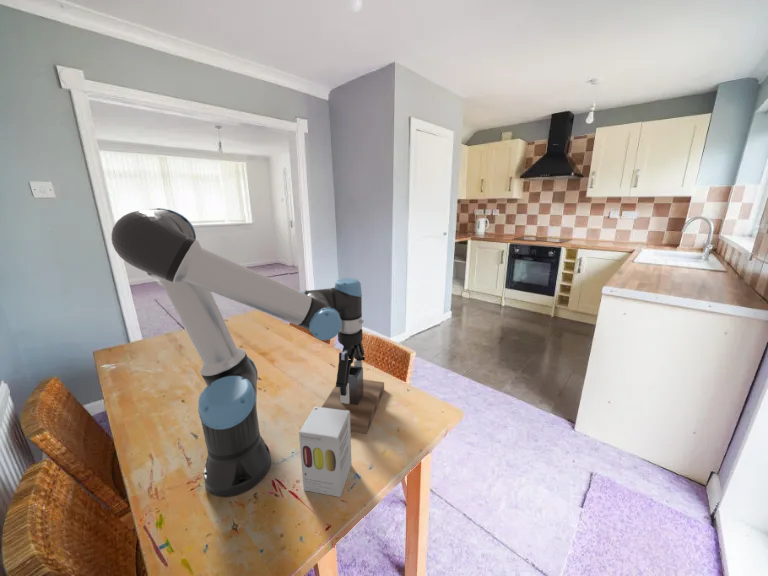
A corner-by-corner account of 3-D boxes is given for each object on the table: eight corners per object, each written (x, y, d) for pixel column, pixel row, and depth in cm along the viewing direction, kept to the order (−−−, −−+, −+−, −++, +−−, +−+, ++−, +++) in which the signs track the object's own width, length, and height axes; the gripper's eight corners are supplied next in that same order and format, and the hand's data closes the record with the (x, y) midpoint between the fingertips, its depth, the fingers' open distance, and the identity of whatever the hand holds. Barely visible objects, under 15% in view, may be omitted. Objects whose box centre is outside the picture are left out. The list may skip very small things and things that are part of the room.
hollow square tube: (357, 405, 97) (357, 377, 94) (340, 402, 98) (338, 374, 96) (363, 393, 103) (362, 367, 100) (346, 391, 104) (345, 365, 101)
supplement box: (302, 491, 72) (296, 431, 67) (317, 459, 81) (313, 404, 76) (341, 498, 70) (338, 437, 65) (352, 464, 79) (350, 409, 74)
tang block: (366, 433, 89) (366, 404, 86) (315, 424, 93) (313, 396, 90) (384, 389, 110) (384, 364, 107) (341, 383, 113) (340, 359, 110)
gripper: (347, 349, 81) (350, 416, 87) (372, 315, 104) (373, 370, 110) (321, 346, 83) (325, 412, 89) (351, 313, 106) (353, 368, 112)
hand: (352, 389), depth 100 cm, fingers open, 13 cm apart
